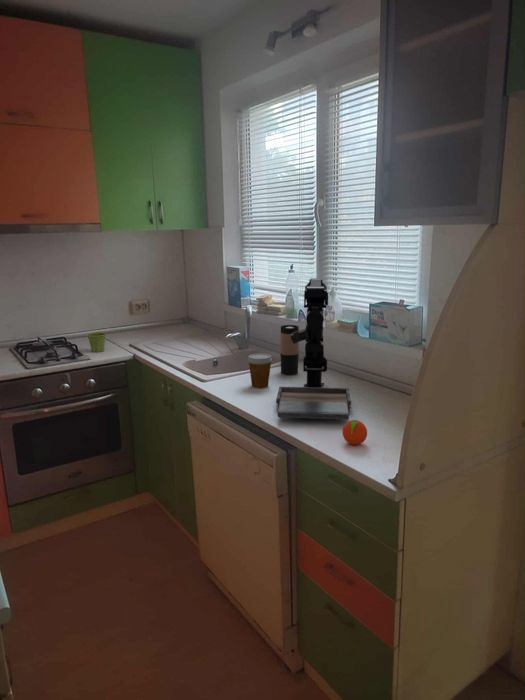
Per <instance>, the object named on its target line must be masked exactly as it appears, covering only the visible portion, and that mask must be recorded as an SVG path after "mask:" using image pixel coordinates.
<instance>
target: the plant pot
mask: <svg viewBox="0 0 525 700" xmlns="http://www.w3.org/2000/svg"><path fill="white" fill-rule="evenodd" d="M106 335H107V333H106V332H103V331H102V332H90V333H88V334H86V337H87V339H88V342H89V346H90V351H91V352H93V353H95V352H96V353H102V352H103V351H105V341H106Z"/></svg>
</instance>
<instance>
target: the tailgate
mask: <svg viewBox="0 0 525 700" xmlns="http://www.w3.org/2000/svg"><path fill="white" fill-rule="evenodd" d="M277 418H291V419H292V418H293V419H294V418H295V419H296V418H297V419H325V420H327V419H328V420H329V419H330V420H349V419H350V412H348V407H347V403H342V402H307V401H280V405H279V409H278V410H277Z"/></svg>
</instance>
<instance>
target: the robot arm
mask: <svg viewBox="0 0 525 700" xmlns="http://www.w3.org/2000/svg"><path fill="white" fill-rule="evenodd" d="M303 290H304V291H303V293H304V296H303V308H305V309H306V317H305V321H306V324H305V328H303V329H300V330H299V331H297V332H294V333H291V335H290V336H291V340H292V342H293V344H295V343H297V342H299V343H300V342H302V341H305V342H306V343H305V346H304V352H305V355H304V356H303V363H302V364H303V365H302V366H303V369H302V370H303V373H304V372H306V383H305V384H303V387H316V388H323V386H324V385H325V382H322V380H323V379H322V376H323V375H322V373H326V372H327V371H328V360H327V358H326V356H325V354H324V353H325V351H324V349H325V348H324V319H325V318H324V309H327V306H329V293H328V291H327V285H326V284H325V283H324V282H323V278H319V277H318V278H317V277H314V278H313V277H311V278H309V282H308V283H306V285H304V289H303Z"/></svg>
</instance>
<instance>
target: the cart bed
mask: <svg viewBox="0 0 525 700" xmlns="http://www.w3.org/2000/svg"><path fill="white" fill-rule="evenodd" d="M276 395H277V396H276V399H275V400H276V402H275V403H276V405H277V411H278V409H279V405H280V401H307V402H342V403H347V407H348V413H350V409H351V408H350V407H351V406H352V398H351V393H350V388H349V387H345V388H343V387H321V388H316V387H304V386H279V387H278V391H277V394H276Z"/></svg>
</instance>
